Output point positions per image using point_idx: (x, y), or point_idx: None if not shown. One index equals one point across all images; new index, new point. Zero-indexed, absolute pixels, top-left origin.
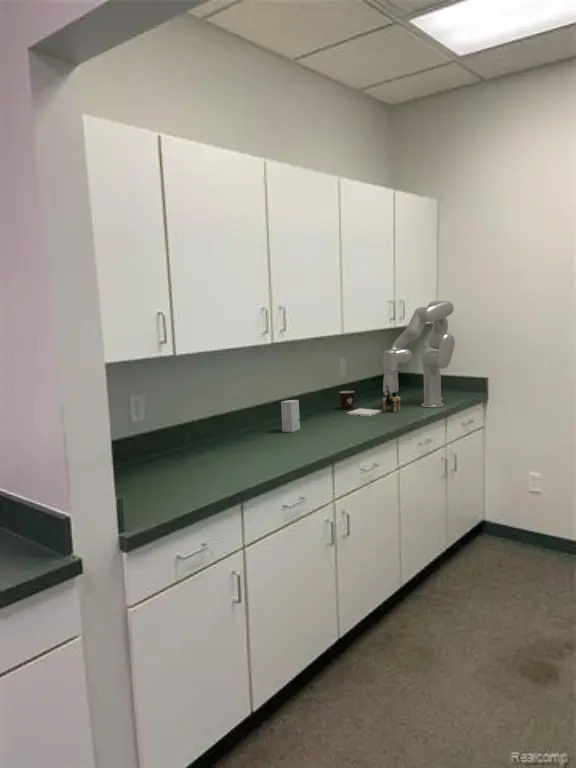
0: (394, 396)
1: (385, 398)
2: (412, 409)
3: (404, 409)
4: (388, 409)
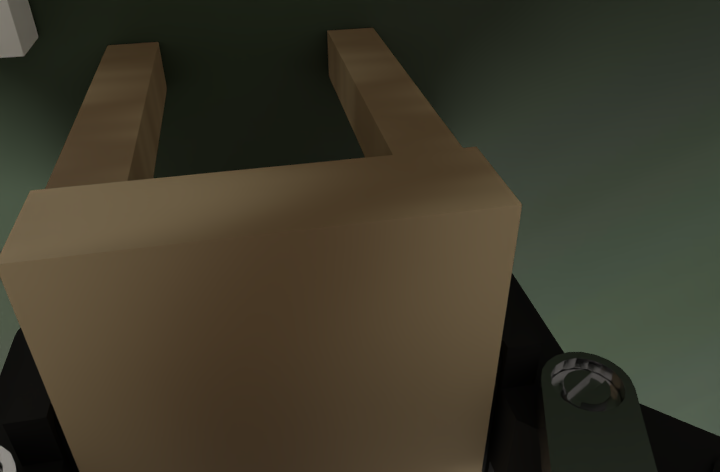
0: (499, 451)
1: (52, 360)
2: (595, 354)
3: (568, 261)
4: (331, 74)
